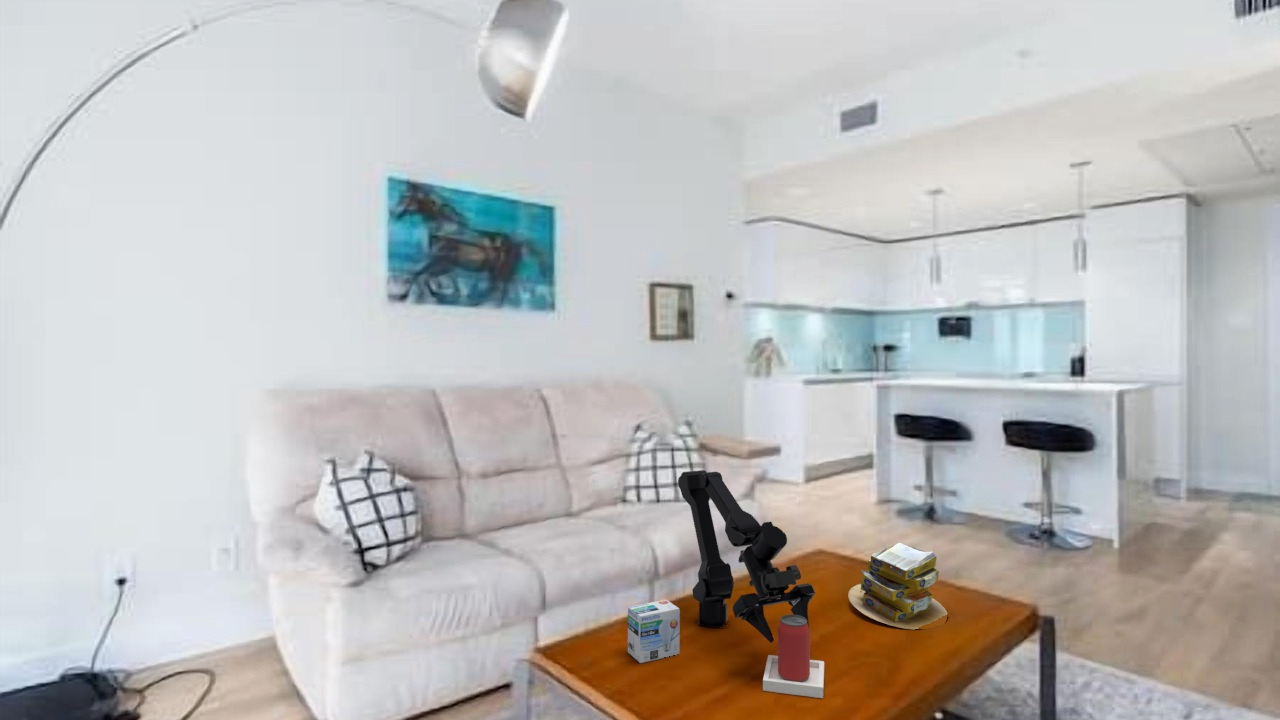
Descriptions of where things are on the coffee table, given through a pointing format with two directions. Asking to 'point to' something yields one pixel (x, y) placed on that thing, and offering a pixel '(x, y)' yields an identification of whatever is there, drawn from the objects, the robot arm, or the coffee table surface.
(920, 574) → the stacked boxes on plate
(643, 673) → the coffee table surface
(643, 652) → the light bulb box
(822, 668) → the dock tray
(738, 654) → the coffee table surface
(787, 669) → the beer can
